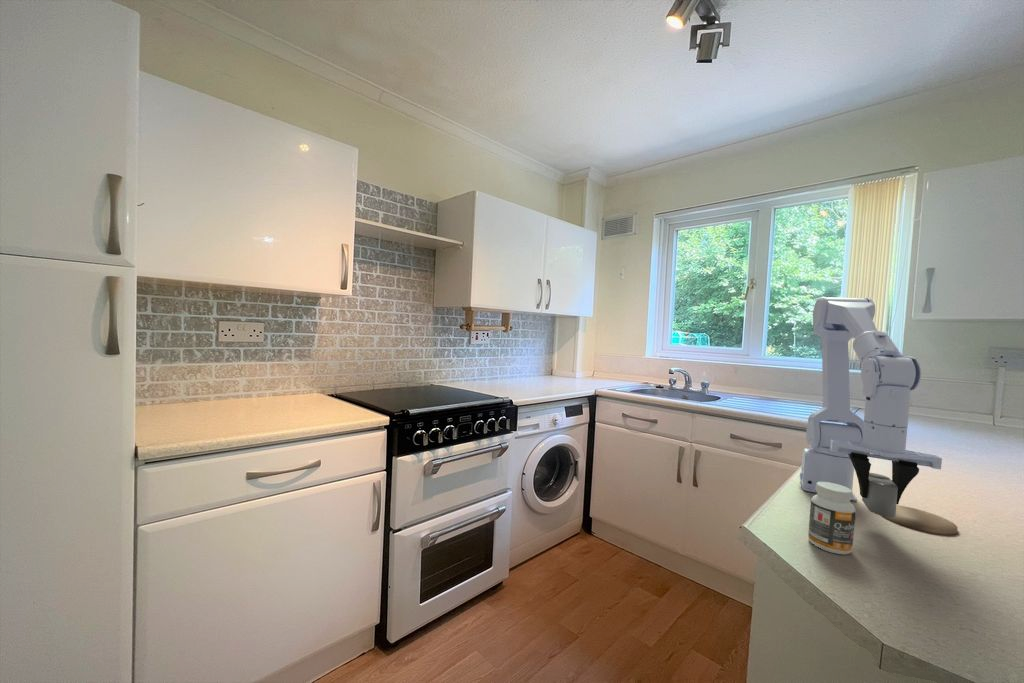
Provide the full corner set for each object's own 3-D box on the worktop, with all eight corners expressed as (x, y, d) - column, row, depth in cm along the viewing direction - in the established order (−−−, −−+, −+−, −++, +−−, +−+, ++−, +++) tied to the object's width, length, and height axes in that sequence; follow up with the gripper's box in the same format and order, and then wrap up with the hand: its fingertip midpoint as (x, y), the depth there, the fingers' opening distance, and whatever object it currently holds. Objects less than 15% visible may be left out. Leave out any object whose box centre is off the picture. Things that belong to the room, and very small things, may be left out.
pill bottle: (840, 559, 63) (846, 496, 62) (800, 541, 68) (805, 482, 67) (859, 551, 65) (864, 491, 65) (818, 534, 70) (823, 478, 70)
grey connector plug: (898, 519, 68) (900, 489, 68) (870, 513, 70) (873, 484, 70) (881, 498, 77) (883, 472, 77) (857, 493, 79) (859, 467, 79)
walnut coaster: (884, 522, 77) (885, 518, 77) (871, 503, 86) (871, 499, 86) (968, 541, 71) (968, 536, 71) (944, 518, 80) (944, 514, 80)
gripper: (836, 420, 72) (830, 495, 73) (951, 435, 65) (944, 519, 65) (831, 414, 78) (825, 483, 79) (935, 427, 71) (928, 504, 71)
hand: (878, 499), depth 72 cm, fingers closed on grey connector plug, 3 cm apart
